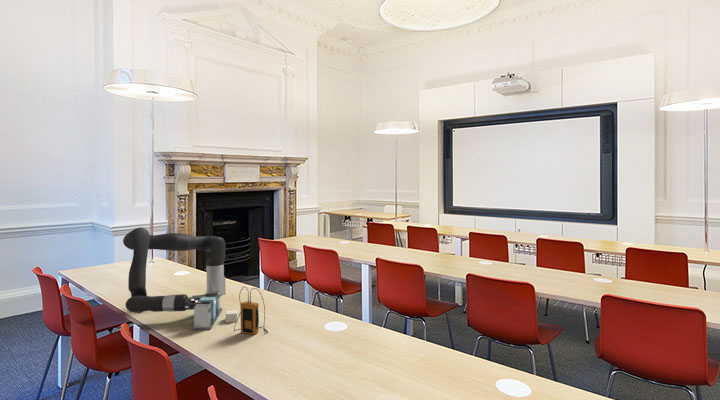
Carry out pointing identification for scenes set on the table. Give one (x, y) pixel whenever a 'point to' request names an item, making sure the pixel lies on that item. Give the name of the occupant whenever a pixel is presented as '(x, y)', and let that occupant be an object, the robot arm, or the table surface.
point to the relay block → (231, 316)
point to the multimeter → (249, 316)
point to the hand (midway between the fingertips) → (212, 301)
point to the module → (213, 305)
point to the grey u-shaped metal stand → (206, 313)
